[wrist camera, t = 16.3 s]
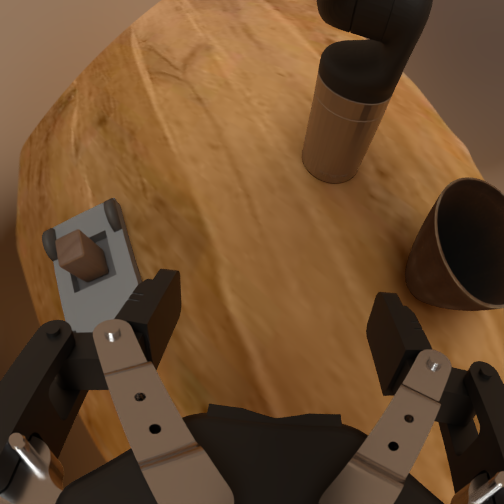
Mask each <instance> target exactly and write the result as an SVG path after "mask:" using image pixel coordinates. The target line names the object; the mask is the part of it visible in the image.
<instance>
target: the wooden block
mask: <svg viewBox="0 0 504 504" xmlns="http://www.w3.org/2000/svg"><path fill="white" fill-rule="evenodd" d="M55 244H56V250H57V257H58V262H59V266H60V267H61V268H63V269H64V270H66V271H68V272H69V273H71V274H73V275H75V276H76V277H78V278H80V279H82V280H83V281H85V282H89V281H92V280H94V279H96V278H98V277H101V276H103V275H105V274H107V273H108V268H107V264H106V260H105V256H104V252H103V250H102V249H101V248H100V247H99V246H98V245H97V244H96V243H94V242H93V241H92V240H91V239H90V238H89V237H87V236H86V235H85V234H84V233H83V232H82V231H81V230H79V229H77V230H74V231H72V232H70V233H68V234H66V235H64V236H62V237H60V238H58V239H57V240H56V241H55Z"/></svg>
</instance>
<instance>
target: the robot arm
mask: <svg viewBox="0 0 504 504" xmlns="http://www.w3.org/2000/svg"><path fill="white" fill-rule="evenodd" d="M432 2H433V0H317V6H318V11H319V14H320V16H321V18H322V19H323V20H324V21H325V22H326V23H327V24H329V25H331V26H333V27H335V28H338V29H340V30H343V31H346V32H351V33H353V34H356V35H360V36H363V37H366V38H369V40H346V41H340V42H336V43H333V44H331V45H329V46H328V47H327V48H326V49H325V50H324V51H323V53H322V55H321V59H320V64H319V70H318V75H317V81H316V86H315V92H314V97H313V102H312V107H311V112H310V117H309V122H308V127H307V131H306V136H305V141H304V145H303V150H302V160H303V163H304V165H305V167H306V169H307V170H308V171H309V172H310V173H311V174H312V175H313V176H315V177H316V178H318V179H320V180H322V181H325V182H329V183H341V182H345V181H348V180H349V179H351V178H352V177H353V176H354V175H355V174H356V172H357V170H358V168H359V166H360V164H361V162H362V160H363V158H364V156H365V154H366V152H367V150H368V147H369V145H370V143H371V141H372V139H373V137H374V135H375V132H376V130H377V128H378V126H379V124H380V122H381V119H382V117H383V115H384V113H385V110H386V108H387V106H388V103H389V101H390V99H391V97H392V94H393V92H394V90H395V87H396V85H397V83H398V81H399V79H400V77H401V75H402V72H403V70H404V68H405V66H406V63H407V61H408V59H409V57H410V55H411V53H412V51H413V49H414V47H415V45H416V43H417V41H418V39H419V38H420V36H421V33H422V31H423V29H424V26H425V25H426V22H427V20H428V17H429V14H430V10H431V7H432ZM180 312H181V286H180V273H179V271H176V270H168V269H160V270H159V271H158V273H157V274H156V276H155V277H154V279H153V280H151V279H146V280H145V281H143V282H142V283H140V284H138V285H137V287H136V288H135V290H134V291H133V293H132V294H131V295H130V297H129V298H128V300H127V301H126V302H125V304H124V305H123V307H122V308H121V310H120V311H119V313H118V314H117V315H116V317H115V318H114V319H110V320H106V321H103V322H101V323H99V324H98V325H97V326H96V327H95V328H94V330H93V332H79V333H73V331H72V328H71V326H70V324H69V323H67V322H65V321H62V320H53V321H49V322H47V323H45V324H43V325H42V326H41V327H40V328H39V329H38V330H37V332H36V333H35V334H34V335H33V337H32V338H31V339H30V341H29V342H28V343H27V345H26V346H25V348H24V349H23V350H22V352H21V353H20V354H19V356H18V357H17V358H16V360H15V362H14V363H13V364H12V366H11V367H10V368H9V370H8V371H7V373H6V374H5V376H4V377H3V379H2V380H1V381H0V504H444V503H443V502H442V501H440V500H439V499H438V498H437V497H436V496H435V495H433V494H432V493H431V492H430V491H429V490H428V489H427V488H425V487H424V486H423V485H422V484H421V483H420V482H419V481H418V480H416V479H415V478H414V477H413V476H412V475H411V474H410V473H409V472H410V470H411V468H412V466H413V464H414V462H415V460H416V458H417V457H418V455H419V453H420V451H421V449H422V447H423V444H424V442H425V440H426V438H427V436H428V434H429V432H430V429H431V427H432V425H433V423H434V421H437V422H439V426H440V430H441V434H442V437H443V441H444V445H445V449H446V454H447V458H448V462H449V467H450V471H451V476H452V481H453V486H454V491H455V495H454V496H453V498H452V500H451V504H504V384H503V382H502V380H501V378H500V376H499V374H498V372H497V371H496V370H495V368H494V367H492V366H491V365H489V364H488V363H485V362H481V361H478V362H474V363H473V364H472V365H471V366H470V368H469V370H468V371H466V370H461V369H457V368H453V367H451V363H450V361H449V359H448V358H447V357H446V356H445V355H444V354H442V353H440V352H438V351H436V350H433V349H432V347H431V345H430V343H429V341H428V339H427V337H426V335H425V333H424V331H423V330H422V327H421V325H420V323H418V322H419V321H418V319H417V318H416V316H415V314H414V313H413V312H412V311H411V310H410V309H409V308H408V307H407V306H403V305H402V303H401V301H400V299H399V297H398V295H397V294H396V293H386V292H378V294H377V295H376V298H375V301H374V305H373V308H372V311H371V314H370V317H369V320H368V323H367V330H366V334H367V339H368V343H369V346H370V349H371V353H372V356H373V360H374V363H375V367H376V371H377V374H378V378H379V382H380V385H381V389H382V393H383V396H389V395H394V397H393V399H392V401H391V402H390V404H389V405H388V407H387V409H386V410H385V412H384V413H383V415H382V416H381V418H380V419H379V421H378V422H377V424H376V425H375V427H374V428H373V430H372V431H371V433H370V434H369V436H368V435H366V434H365V433H363V432H361V431H360V430H358V429H356V428H353V427H351V426H348V425H344V424H342V422H341V414H304V415H298V416H291V417H284V418H272V417H269V416H265V415H262V414H259V413H256V412H252V411H249V410H246V409H243V408H237V407H229V406H221V405H214V404H209V407H208V412H207V413H199V414H193V415H189V416H186V417H183V418H181V416H180V414H179V412H178V410H177V409H176V407H175V405H174V403H173V402H172V400H171V398H170V396H169V394H168V392H167V391H166V389H165V387H164V385H163V383H162V381H161V379H160V377H159V375H158V373H157V371H156V370H157V368H158V365H159V363H160V360H161V358H162V356H163V353H164V351H165V349H166V346H167V344H168V342H169V340H170V337H171V335H172V333H173V330H174V328H175V326H176V324H177V321H178V319H179V316H180ZM88 390H109V391H110V394H111V397H112V400H113V403H114V405H115V408H116V411H117V414H118V416H119V419H120V421H121V424H122V427H123V429H124V432H125V434H126V436H127V439H128V441H129V444H130V446H131V449H129V450H128V451H126V452H124V453H123V454H121V455H119V456H118V457H116V458H114V459H113V460H111V461H109V462H107V463H106V464H104V465H102V466H100V467H99V468H97V469H96V470H93V471H92V472H90V473H88V474H86V475H84V476H82V477H80V478H79V479H77V480H75V481H73V482H72V483H70V484H69V485H68V486H66V487H65V488H64V489H63V477H64V470H63V467H62V465H61V463H60V462H59V460H58V457H59V455H60V452H61V450H62V448H63V445H64V443H65V441H66V438H67V436H68V434H69V432H70V429H71V427H72V425H73V423H74V420H75V418H76V416H77V414H78V412H79V409H80V407H81V405H82V403H83V401H84V399H85V397H86V394H87V392H88ZM475 415H477V418H478V420H479V423H480V433H479V435H478V432H477V429H476V426H475V423H474V420H473V418H474V416H475Z"/></svg>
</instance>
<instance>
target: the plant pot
mask: <svg viewBox="0 0 504 504" xmlns="http://www.w3.org/2000/svg"><path fill="white" fill-rule="evenodd" d="M405 278H406V283H407V286H408V288H409V290H410V292H411V293H412V294H413V295H414V297H416V298H417V299H418V300H420V301H422V302H425V303H427V304H430V305H433V306H436V307H441V308H446V309H452V310H463V311H479V310H491V309H500V308H504V194H503V193H502V192H501V191H500V190H498V189H497V188H496V187H494V186H493V185H491V184H489V183H487V182H485V181H483V180H480V179H476V178H460V179H457V180H455V181H453V182H451V183H450V184H449V185H447V186H446V187H445V189H444V190H443V191H442V193H441V194H440V196H439V197H438V199H437V201H436V202H435V204H434V206H433V207H432V209H431V211H430V212H429V214H428V216H427V217H426V219H425V221H424V223H423V225H422V227H421V229H420V231H419V233H418V235H417V237H416V240H415V242H414V244H413V247H412V250H411V253H410V256H409V259H408V263H407V267H406V273H405Z"/></svg>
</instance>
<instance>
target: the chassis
mask: <svg viewBox="0 0 504 504" xmlns="http://www.w3.org/2000/svg"><path fill="white" fill-rule="evenodd" d="M77 229H79V230H81V231H82V232H83V233H84V234H85V235H86V236H87V237H89V238H90V239H91V240H92V241H93V242H94V243H96V244H97V245H98V246H99V247H100V248H101V249H102V250H103V252H104V256H105V260H106V264H107V268H108V273H107V274H105V275H103V276H101V277H98V278H96V279H94V280H92V281H89V282H85V281H83V280H82V279H80V278H78V277H76V276H75V275H73V274H71V273H69V272H68V271H66V270H64V269H63V268H61V267H60V266H59V262H58V257H57V250H56V244H55V241H56V240H57V239H58V238H60V237H62V236H64V235H66V234H68V233H70V232H72V231H74V230H77ZM42 241H43V246H44V249H45V251H46V253H47V255H48V256H49V258H50V259H51V260H52V261H53V262H54V268H55V274H56V279H57V284H58V289H59V294H60V298H61V303H62V307H63V312H64V316H65V320H66V322H67V323H69V324H70V326H71V328H72V331H73V333H79V332H93V330H94V328H95V327H96V326H97V325H98V324H99V323H101V322H103V321H106V320H110V319H114V318H115V317H116V315H117V314H118V313H119V311H120V310H121V308H122V307H123V305H124V304H125V302H126V301H127V300H128V298H129V297H130V295H131V294H132V293H133V291H134V290H135V288H136V287H137V285H138V284H140V283H142V280H141V277H140V274H139V270H138V267H137V264H136V261H135V257H134V254H133V251H132V247H131V244H130V240H129V237H128V233H127V230H126V226H125V222H124V219H123V215H122V211H121V207H120V205H119V203H118V202H117V201H116V199H115V198H111V199H109V200H107V201H105V202H104V203H102V204H100V205H97V206H95V207H93V208H91V209H89V210H87V211H85V212H83V213H81V214H79V215H77V216H75V217H73V218H71V219H69V220H67V221H65V222H63V223H61V224H59V225H57V226H55V227H53V228H50V229H48V230H47V231H45V232H44V233H43V235H42Z"/></svg>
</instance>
